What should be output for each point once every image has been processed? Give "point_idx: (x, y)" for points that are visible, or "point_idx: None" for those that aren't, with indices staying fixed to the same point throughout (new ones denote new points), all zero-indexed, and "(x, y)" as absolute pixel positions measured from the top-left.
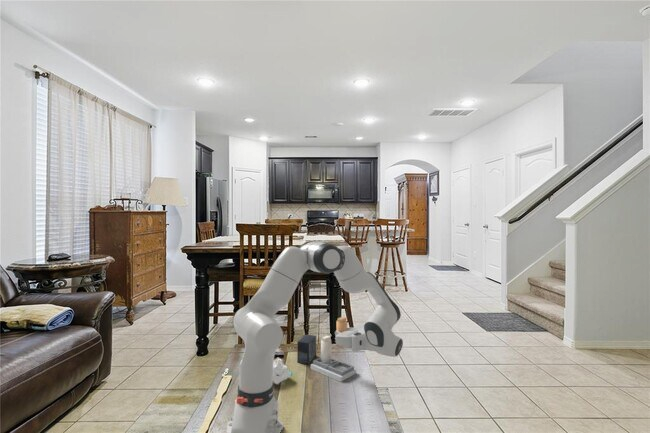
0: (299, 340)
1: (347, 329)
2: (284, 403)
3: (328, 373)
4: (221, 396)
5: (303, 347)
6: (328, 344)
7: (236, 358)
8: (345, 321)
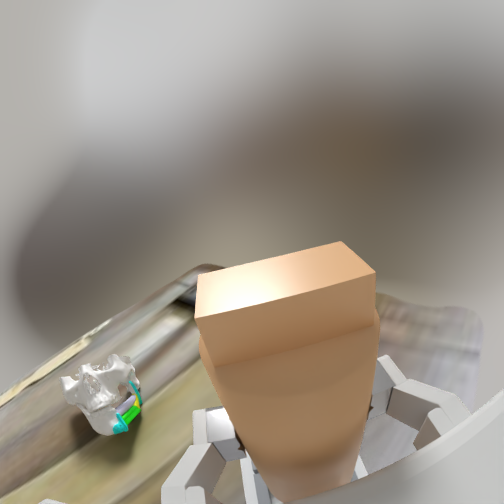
0: None
1: (390, 396)
2: (37, 495)
3: (246, 497)
4: (24, 387)
5: None
6: None
7: (150, 298)
8: (342, 342)
